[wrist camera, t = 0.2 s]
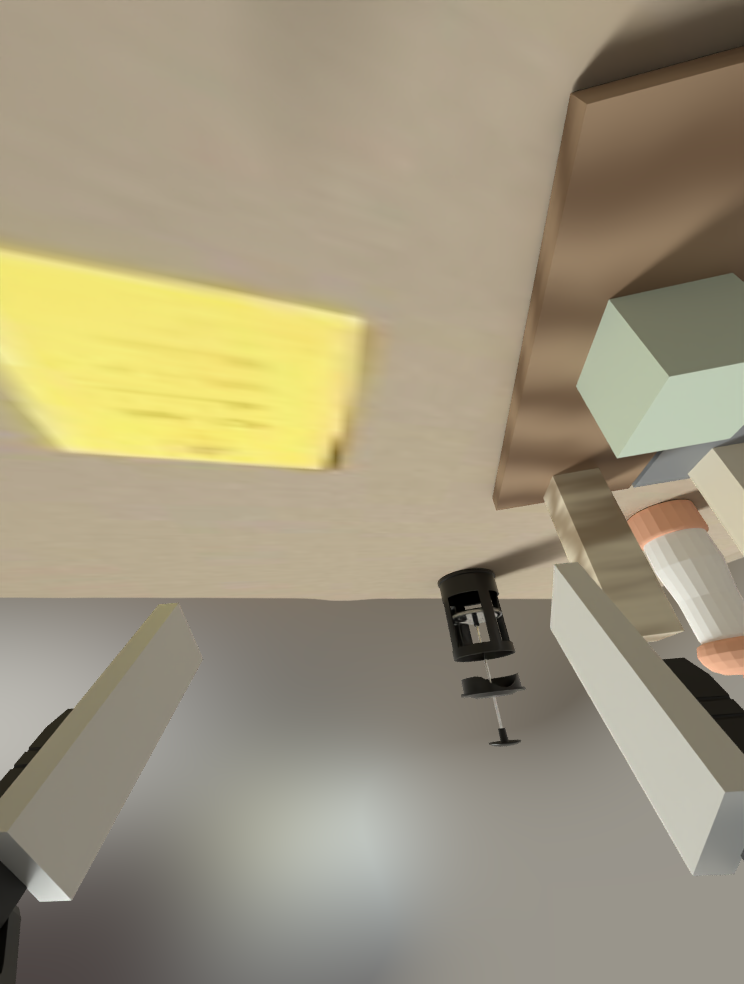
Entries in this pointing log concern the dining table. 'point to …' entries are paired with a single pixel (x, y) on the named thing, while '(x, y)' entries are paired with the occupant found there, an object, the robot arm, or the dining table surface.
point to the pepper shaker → (695, 580)
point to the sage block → (668, 367)
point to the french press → (472, 591)
